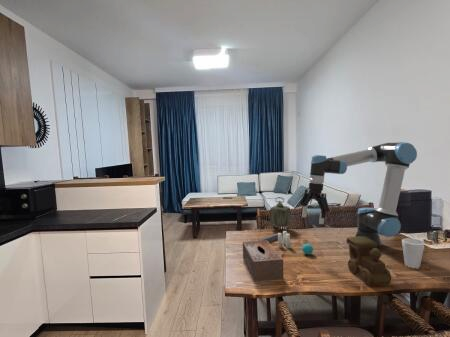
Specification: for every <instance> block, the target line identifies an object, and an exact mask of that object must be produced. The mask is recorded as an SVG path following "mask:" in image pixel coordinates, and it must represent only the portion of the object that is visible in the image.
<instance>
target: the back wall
mask: <svg viewBox="0 0 450 337" xmlns="http://www.w3.org/2000/svg"><path fill="white" fill-rule="evenodd" d="M278 233H279V232H277V233H274V234H272V235H268V236H266V237H263V238H261V239H258V240H257V241H264V240H267V241H268V242H269V243H270V242H274V241H277V240H278Z"/></svg>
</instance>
